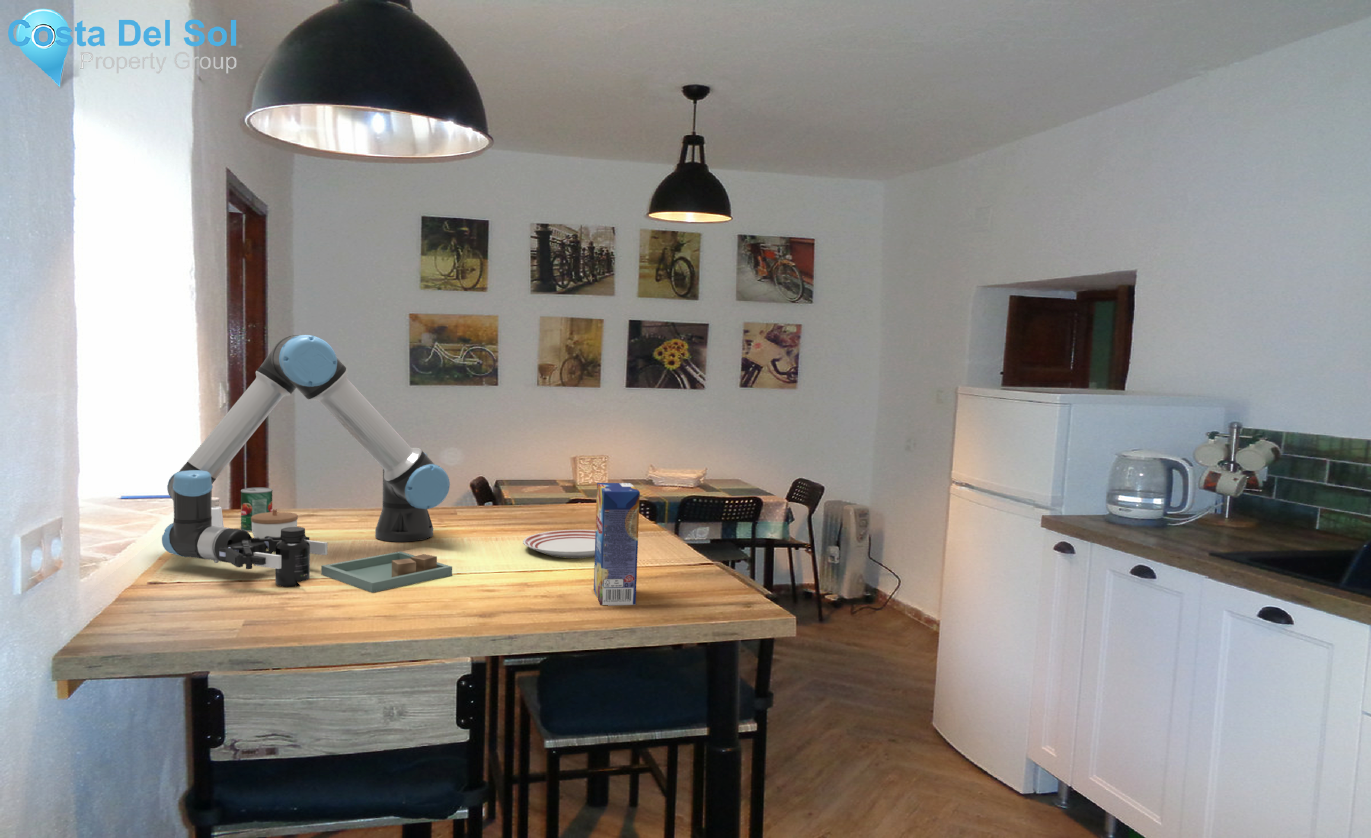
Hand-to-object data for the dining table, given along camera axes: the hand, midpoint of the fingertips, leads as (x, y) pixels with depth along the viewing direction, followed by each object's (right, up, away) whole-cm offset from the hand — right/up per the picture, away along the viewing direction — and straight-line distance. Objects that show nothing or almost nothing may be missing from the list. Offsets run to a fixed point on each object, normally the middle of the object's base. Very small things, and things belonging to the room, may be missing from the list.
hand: (304, 555), depth 185 cm
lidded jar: (-23, -3, +35) cm, 42 cm away
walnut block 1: (+20, -6, +4) cm, 21 cm away
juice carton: (+67, -9, 0) cm, 67 cm away
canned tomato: (-37, -1, +53) cm, 64 cm away
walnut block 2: (+23, -6, +9) cm, 25 cm away
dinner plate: (+53, -6, +43) cm, 68 cm away
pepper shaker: (-40, -2, +38) cm, 56 cm away
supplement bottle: (-3, -7, +2) cm, 7 cm away
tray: (+15, -7, +7) cm, 18 cm away
